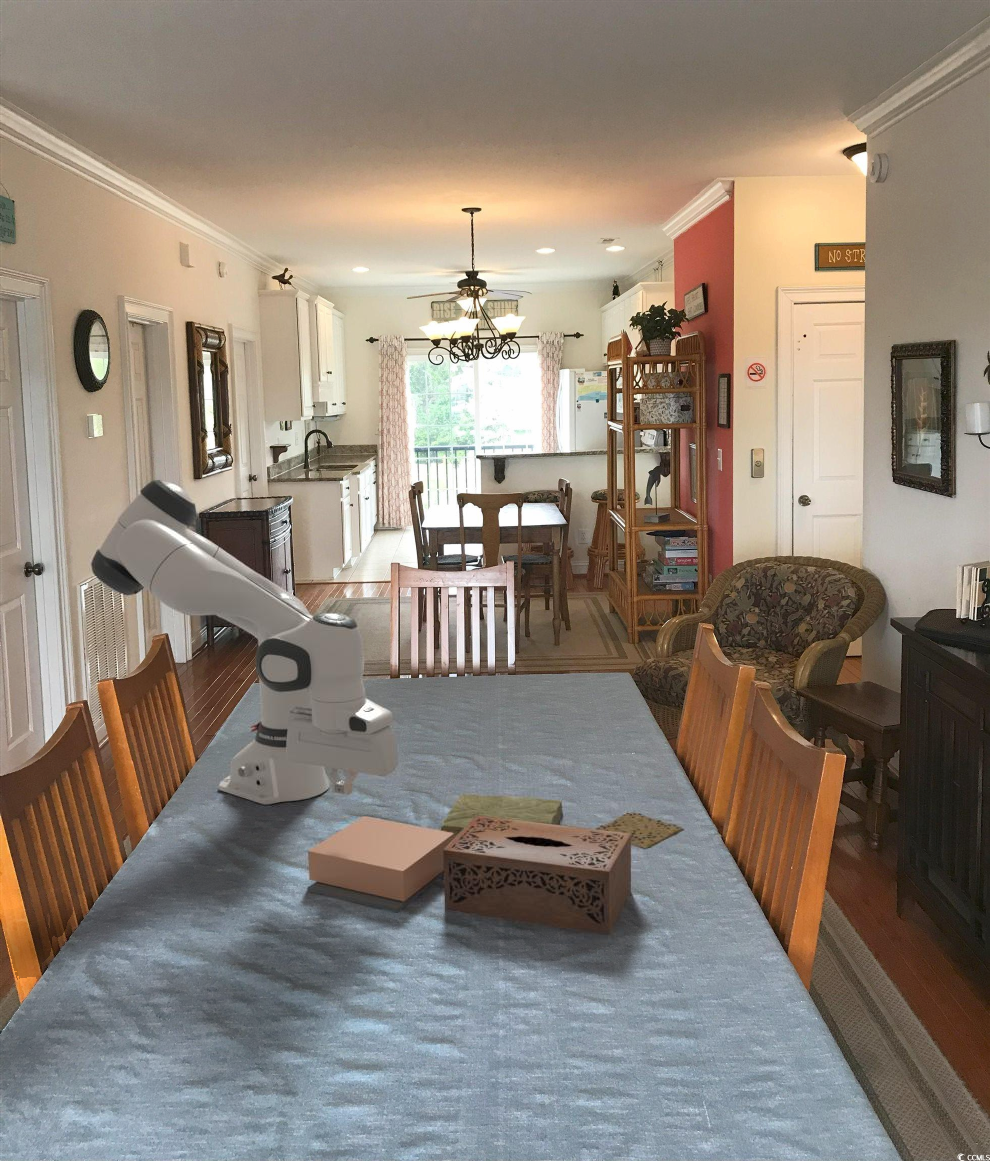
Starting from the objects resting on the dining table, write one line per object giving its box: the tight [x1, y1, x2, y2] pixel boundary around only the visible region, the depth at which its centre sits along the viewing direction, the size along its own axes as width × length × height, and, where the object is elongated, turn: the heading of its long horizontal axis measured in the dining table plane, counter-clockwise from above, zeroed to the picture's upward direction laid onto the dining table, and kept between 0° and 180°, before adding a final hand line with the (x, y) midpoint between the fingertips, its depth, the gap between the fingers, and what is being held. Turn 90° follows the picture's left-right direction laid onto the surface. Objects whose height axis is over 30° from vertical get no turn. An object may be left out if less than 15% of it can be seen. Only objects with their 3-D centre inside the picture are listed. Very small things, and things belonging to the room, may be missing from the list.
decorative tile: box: [440, 793, 564, 838], centre depth 198 cm, size 19×20×4 cm
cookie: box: [596, 811, 685, 850], centre depth 195 cm, size 12×12×1 cm
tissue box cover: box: [443, 815, 632, 935], centre depth 168 cm, size 26×14×10 cm, turn 70°
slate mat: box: [307, 871, 444, 913], centre depth 179 cm, size 17×20×1 cm
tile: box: [307, 815, 454, 901], centre depth 178 cm, size 5×16×18 cm
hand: (342, 793), depth 180 cm, fingers closed
